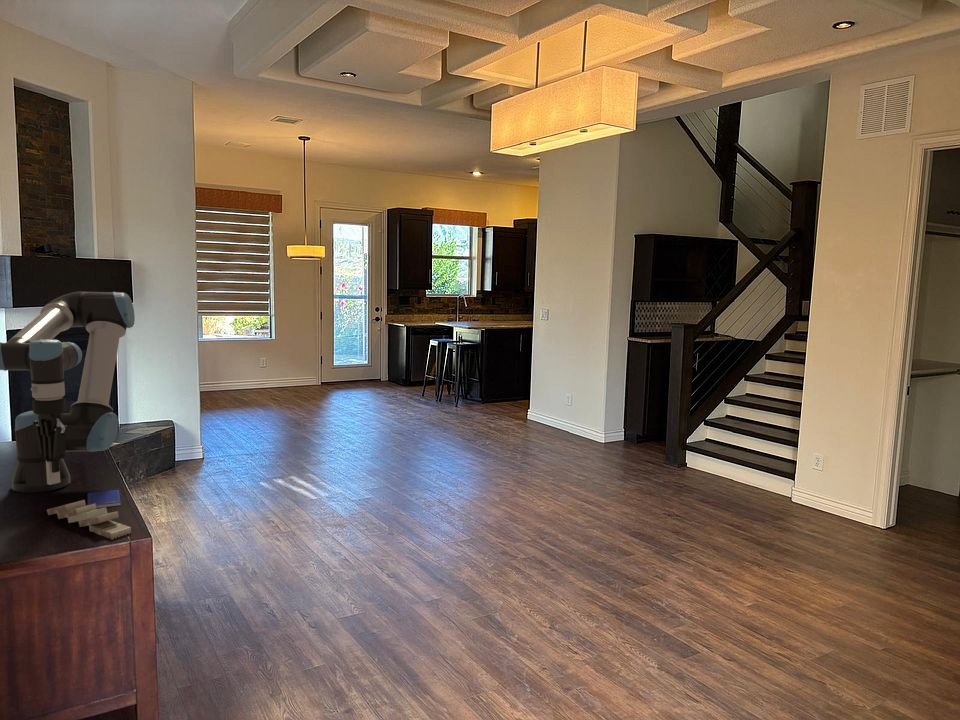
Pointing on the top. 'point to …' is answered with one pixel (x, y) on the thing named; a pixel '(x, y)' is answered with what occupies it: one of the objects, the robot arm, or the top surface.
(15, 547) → the top surface
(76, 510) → the domino
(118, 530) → the domino
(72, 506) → the domino
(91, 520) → the domino
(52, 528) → the top surface
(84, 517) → the domino
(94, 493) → the hard drive
